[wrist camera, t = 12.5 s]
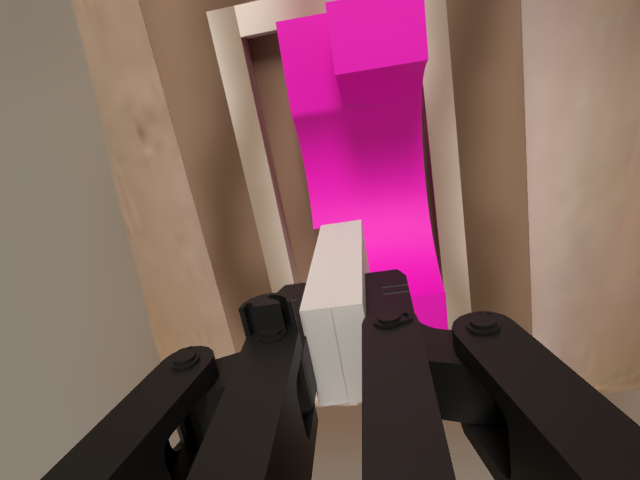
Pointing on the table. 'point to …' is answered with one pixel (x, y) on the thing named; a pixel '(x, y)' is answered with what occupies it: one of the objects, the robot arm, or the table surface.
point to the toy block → (367, 132)
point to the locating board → (287, 162)
